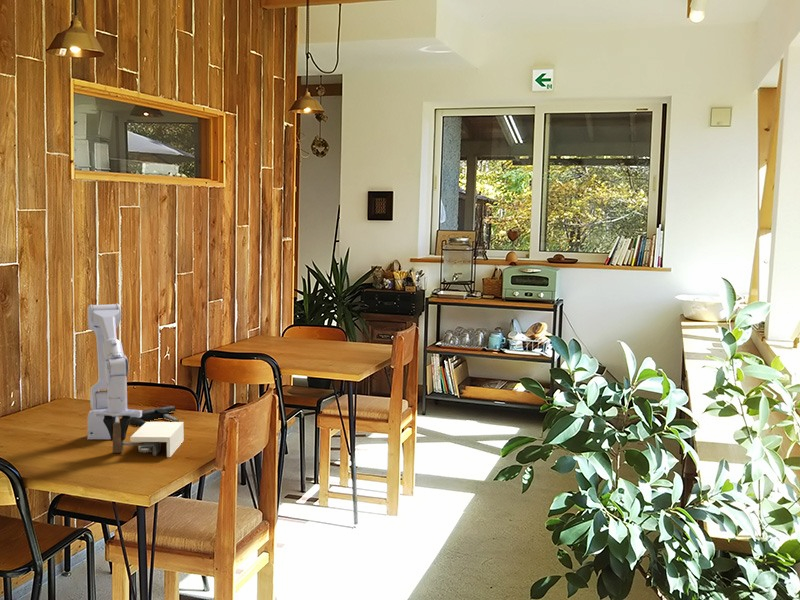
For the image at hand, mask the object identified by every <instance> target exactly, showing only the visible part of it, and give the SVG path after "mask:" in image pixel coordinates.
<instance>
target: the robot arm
mask: <svg viewBox="0 0 800 600" xmlns="http://www.w3.org/2000/svg"><path fill="white" fill-rule="evenodd" d="M121 319H122V309H121V305H120V304H119V303H112V304H89V305H88V307H87V326H88V329H89V330H90V331H92V332H94V335H95V338H96V339H95V340H96V356H97V371H98V374H97V376H98V381H97V382H96V383H95V384H93V385H92V386H91V388H90V390H89V392H90V396H89V399H90V400H89V404H90V409H91V410H89V412H88V415H87V438H86V439H87V440H110V441H113V424H114V423H115V422H120V426H121V441H123V442H124V441H125V440H126V436H127V431H128V428H129V425H130V424H131V423H130V421H131V419H132V417H137V418H140V417H142V411H143V410H142V409H130V408H128V390H127V389H128V388H127V387H128V384H127V383H128V380H127V376H129V371H130V368H129V367H130V365H129V360H128V357H127V355H126V354H124V353H125V352H124V349H123V343H122V341H120V340H119V339H117V338H118V336H117V329H118V328H119V325H120V322H121V321H122V320H121ZM119 418H120V419H119Z"/></svg>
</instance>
